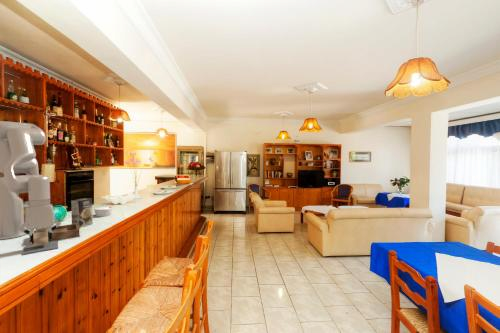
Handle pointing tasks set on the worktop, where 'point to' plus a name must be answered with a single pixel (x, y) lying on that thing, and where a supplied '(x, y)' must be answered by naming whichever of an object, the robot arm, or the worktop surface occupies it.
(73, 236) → the crate
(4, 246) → the worktop surface
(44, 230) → the maple block
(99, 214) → the ramekin
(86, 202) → the coffee box
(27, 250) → the mat
